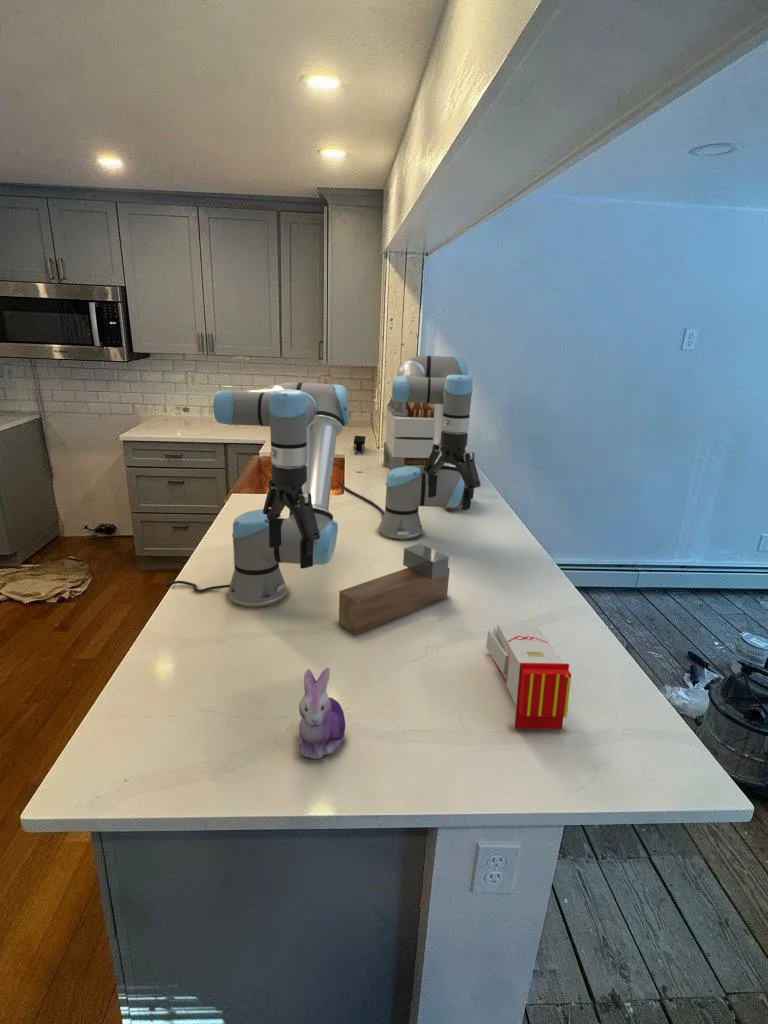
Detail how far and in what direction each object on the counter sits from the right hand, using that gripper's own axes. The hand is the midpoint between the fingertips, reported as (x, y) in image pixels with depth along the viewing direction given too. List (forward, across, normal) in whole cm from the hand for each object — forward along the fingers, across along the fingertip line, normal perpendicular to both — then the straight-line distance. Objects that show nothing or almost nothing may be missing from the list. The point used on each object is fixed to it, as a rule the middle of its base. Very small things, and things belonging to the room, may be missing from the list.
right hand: (448, 502), depth 167 cm
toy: (+22, +50, -29) cm, 61 cm away
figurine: (+21, +37, -72) cm, 84 cm away
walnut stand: (+22, +10, -28) cm, 37 cm away
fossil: (+22, -40, +50) cm, 67 cm away
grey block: (+13, +10, -18) cm, 24 cm away
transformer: (+22, -81, +70) cm, 109 cm away
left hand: (0, +5, -57) cm, 57 cm away
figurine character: (+22, -130, +72) cm, 151 cm away
